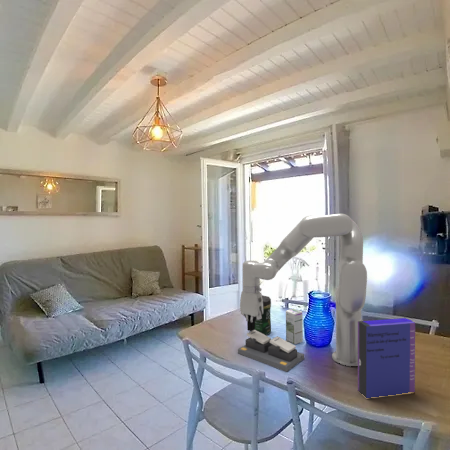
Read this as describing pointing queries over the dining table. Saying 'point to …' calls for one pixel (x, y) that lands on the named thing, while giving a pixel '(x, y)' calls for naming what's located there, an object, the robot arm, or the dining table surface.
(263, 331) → the coffee jar
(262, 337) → the outer rocker
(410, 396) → the dining table surface
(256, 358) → the switch panel
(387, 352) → the blue upright rectangular block
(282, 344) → the inner rocker
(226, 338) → the dining table surface
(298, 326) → the syrup box
